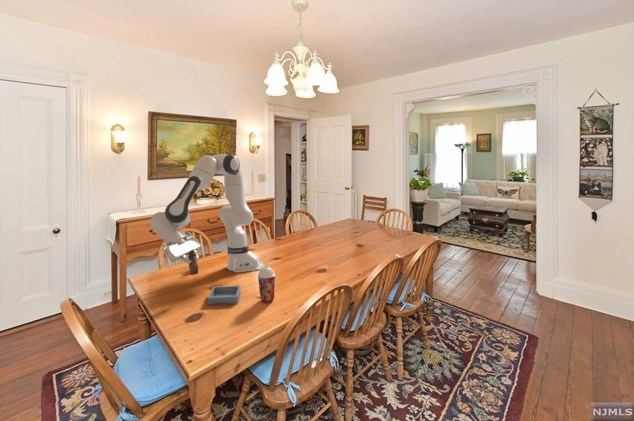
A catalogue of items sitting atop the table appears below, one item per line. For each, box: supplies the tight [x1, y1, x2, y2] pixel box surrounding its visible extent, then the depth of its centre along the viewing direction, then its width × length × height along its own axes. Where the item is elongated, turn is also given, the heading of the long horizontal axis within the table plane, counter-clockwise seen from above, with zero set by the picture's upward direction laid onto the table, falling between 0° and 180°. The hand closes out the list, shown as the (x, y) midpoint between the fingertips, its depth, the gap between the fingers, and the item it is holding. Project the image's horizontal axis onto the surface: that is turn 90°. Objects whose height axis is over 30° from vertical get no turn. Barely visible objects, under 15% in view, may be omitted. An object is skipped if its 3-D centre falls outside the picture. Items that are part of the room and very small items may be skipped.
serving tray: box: [207, 285, 242, 306], centre depth 156 cm, size 14×13×4 cm
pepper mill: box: [187, 250, 199, 276], centre depth 155 cm, size 4×4×12 cm
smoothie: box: [257, 261, 276, 304], centre depth 152 cm, size 8×8×20 cm
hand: (194, 260), depth 154 cm, fingers closed on pepper mill, 4 cm apart
